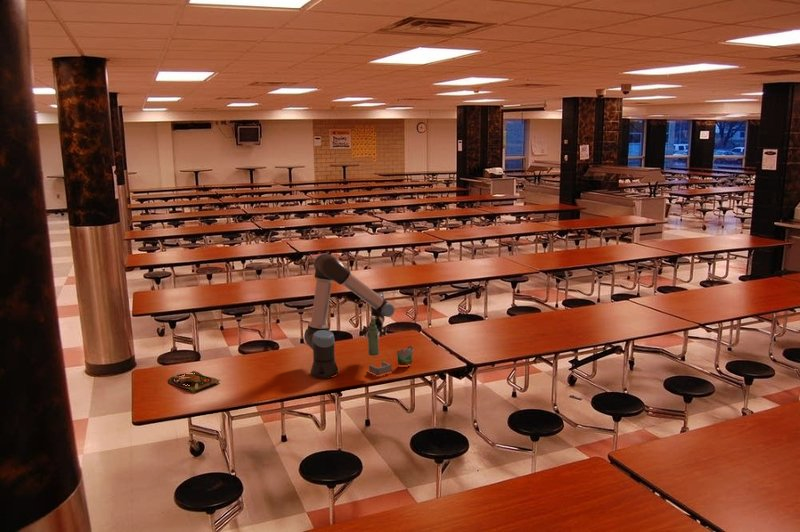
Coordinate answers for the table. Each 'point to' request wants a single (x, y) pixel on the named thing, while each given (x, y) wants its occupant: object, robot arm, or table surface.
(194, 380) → the prepared meal
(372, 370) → the bottle rest
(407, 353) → the food container
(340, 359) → the table surface
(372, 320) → the bottle
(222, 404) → the table surface
